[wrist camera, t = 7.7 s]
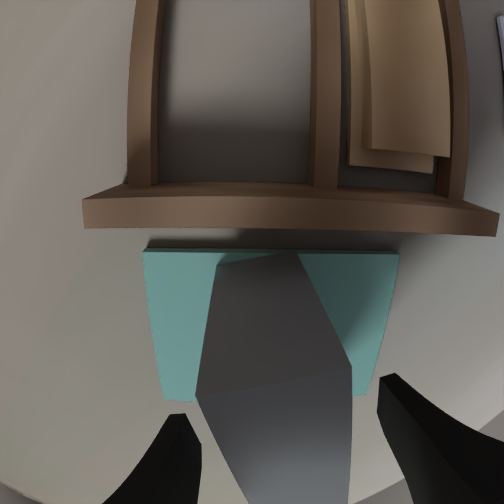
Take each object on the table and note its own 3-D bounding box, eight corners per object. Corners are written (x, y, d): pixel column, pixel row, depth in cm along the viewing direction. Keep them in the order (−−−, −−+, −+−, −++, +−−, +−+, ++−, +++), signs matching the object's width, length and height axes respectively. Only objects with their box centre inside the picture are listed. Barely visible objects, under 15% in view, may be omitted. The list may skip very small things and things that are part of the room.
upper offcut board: (420, -23, 10) (430, -31, 8) (435, 155, 13) (449, 157, 12) (348, -42, 10) (355, -53, 8) (361, 148, 13) (371, 148, 12)
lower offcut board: (409, -29, 10) (419, -37, 9) (420, 171, 14) (432, 173, 13) (335, -48, 10) (341, -59, 9) (341, 163, 14) (349, 165, 13)
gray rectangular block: (294, 249, 14) (351, 366, 6) (313, 383, 17) (347, 505, 9) (216, 265, 14) (194, 395, 7) (251, 395, 17) (259, 521, 9)
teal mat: (395, 250, 15) (400, 254, 14) (363, 388, 18) (365, 394, 17) (145, 247, 14) (142, 252, 14) (165, 392, 17) (163, 399, 17)
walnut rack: (435, -46, 9) (470, -72, 5) (447, 214, 14) (495, 236, 11) (146, -79, 8) (127, -119, 5) (122, 205, 14) (84, 228, 10)
